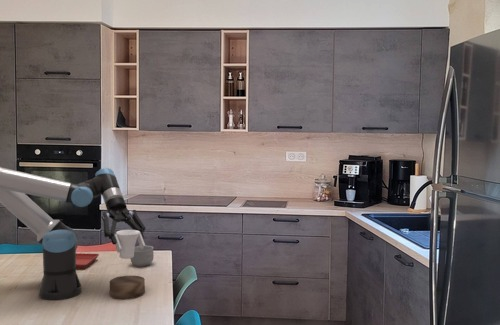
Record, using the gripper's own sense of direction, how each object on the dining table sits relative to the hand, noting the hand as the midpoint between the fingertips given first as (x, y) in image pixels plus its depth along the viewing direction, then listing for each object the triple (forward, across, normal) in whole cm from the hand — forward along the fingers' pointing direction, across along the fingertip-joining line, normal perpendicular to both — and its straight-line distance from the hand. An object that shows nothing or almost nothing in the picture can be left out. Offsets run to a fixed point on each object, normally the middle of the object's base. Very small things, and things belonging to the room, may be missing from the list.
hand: (131, 248), depth 190 cm
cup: (+1, 0, -5) cm, 5 cm away
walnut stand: (+12, +1, -13) cm, 17 cm away
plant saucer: (-25, +3, -52) cm, 57 cm away
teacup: (-12, -22, -38) cm, 46 cm away
